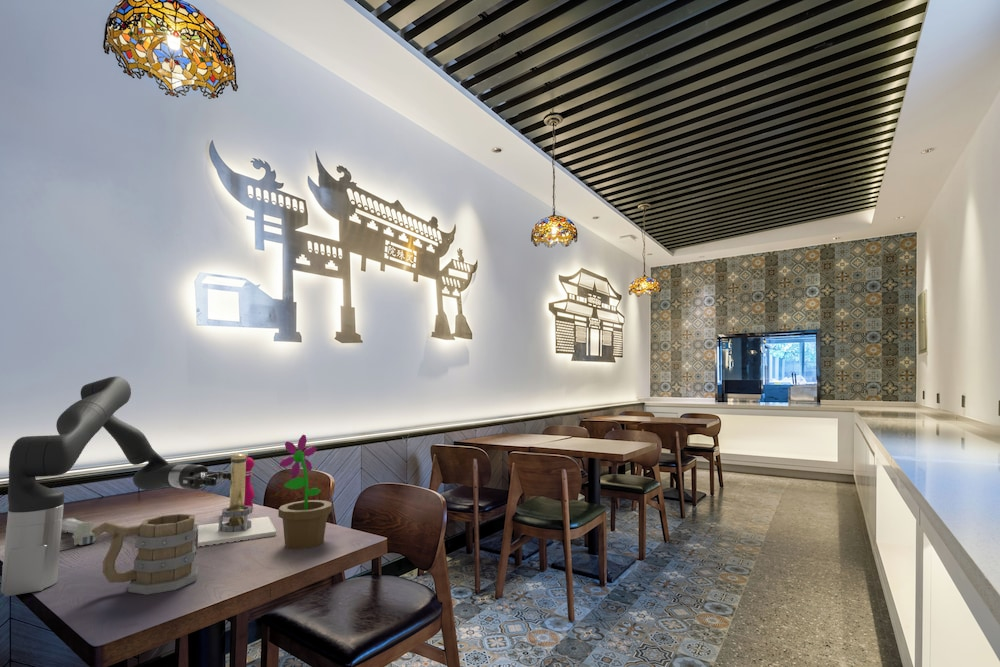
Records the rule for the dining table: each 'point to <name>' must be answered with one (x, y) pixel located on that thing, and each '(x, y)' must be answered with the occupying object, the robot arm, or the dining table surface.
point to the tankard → (154, 553)
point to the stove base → (235, 528)
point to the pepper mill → (248, 482)
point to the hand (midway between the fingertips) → (227, 479)
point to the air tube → (237, 487)
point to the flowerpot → (303, 503)
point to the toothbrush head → (79, 530)
